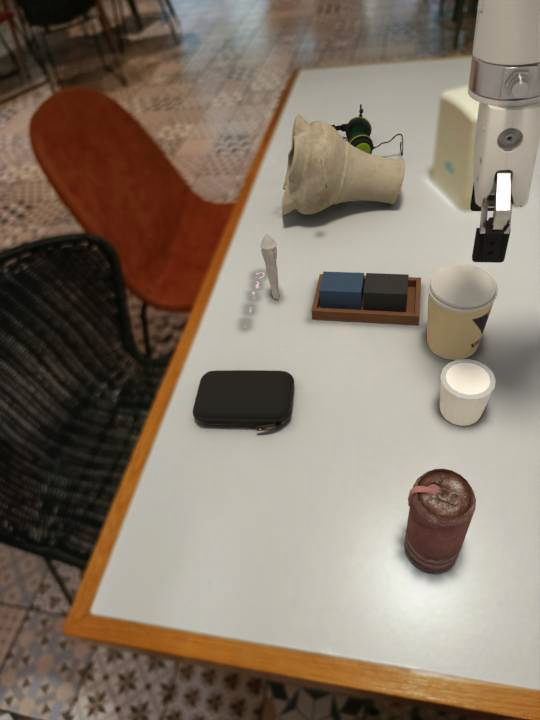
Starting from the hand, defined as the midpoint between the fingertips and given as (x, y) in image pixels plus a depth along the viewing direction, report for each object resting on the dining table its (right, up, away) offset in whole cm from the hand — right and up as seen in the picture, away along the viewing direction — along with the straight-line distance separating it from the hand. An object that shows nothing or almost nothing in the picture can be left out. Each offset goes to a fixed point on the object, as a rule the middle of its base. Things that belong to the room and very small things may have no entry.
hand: (485, 234), depth 59 cm
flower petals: (-27, -3, +36) cm, 46 cm away
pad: (-5, -4, +30) cm, 31 cm away
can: (-6, -37, +3) cm, 37 cm away
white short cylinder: (+3, -21, +15) cm, 26 cm away
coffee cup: (+4, -12, +23) cm, 26 cm away
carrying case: (-28, -21, +20) cm, 41 cm away
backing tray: (-8, -4, +31) cm, 33 cm away
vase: (-8, +18, +51) cm, 55 cm away
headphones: (-4, +35, +66) cm, 75 cm away
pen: (-23, -3, +35) cm, 42 cm away
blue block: (-12, -4, +32) cm, 34 cm away
